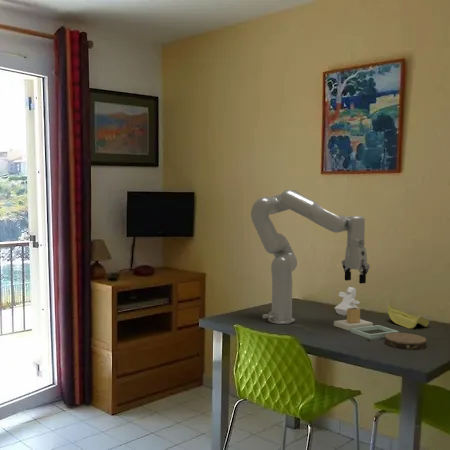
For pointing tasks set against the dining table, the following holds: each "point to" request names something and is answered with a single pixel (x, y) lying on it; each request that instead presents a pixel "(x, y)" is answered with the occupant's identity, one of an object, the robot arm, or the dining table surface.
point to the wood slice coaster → (405, 341)
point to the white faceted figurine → (347, 301)
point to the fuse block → (351, 324)
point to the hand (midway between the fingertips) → (355, 281)
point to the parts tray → (370, 336)
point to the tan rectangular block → (353, 315)
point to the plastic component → (406, 318)
